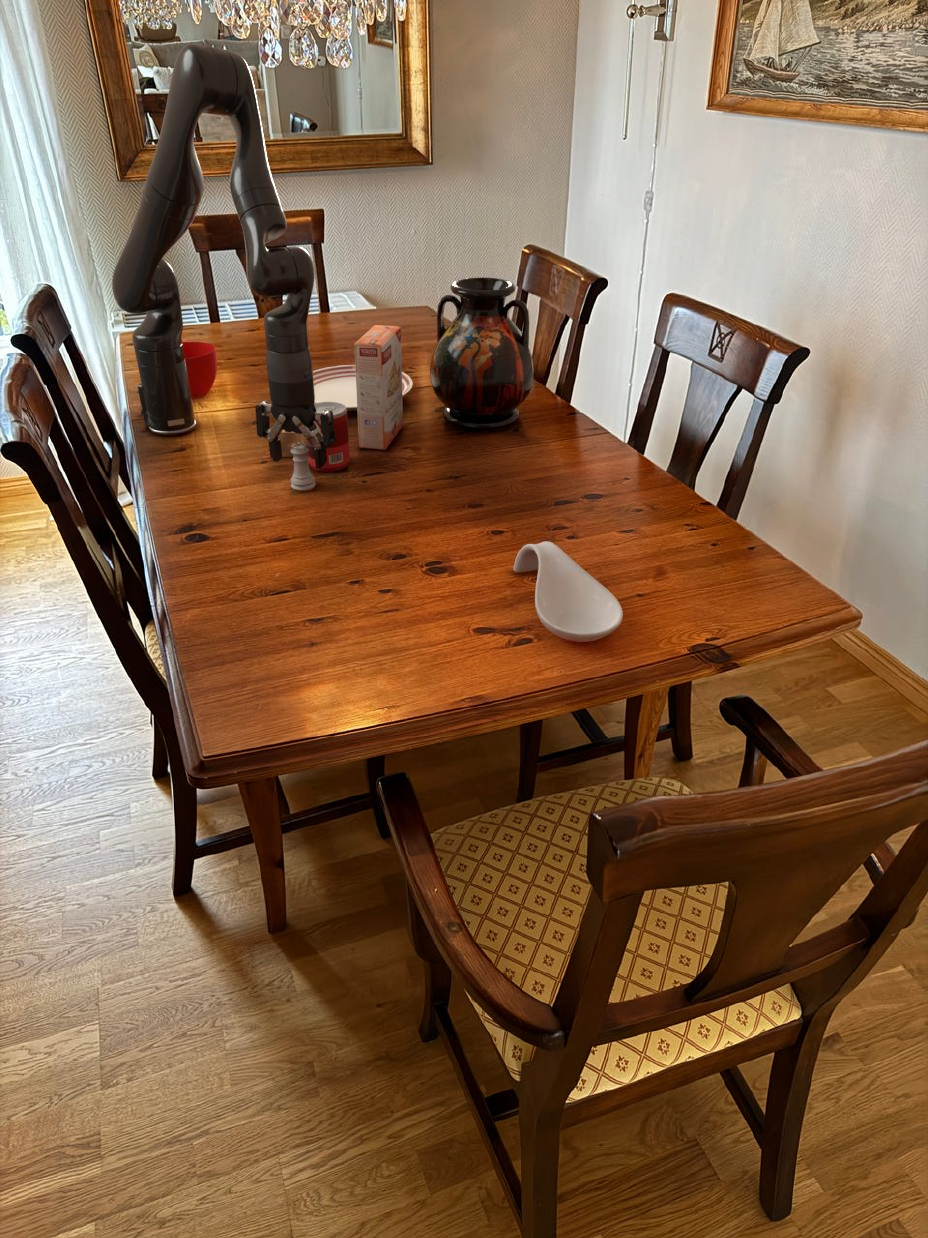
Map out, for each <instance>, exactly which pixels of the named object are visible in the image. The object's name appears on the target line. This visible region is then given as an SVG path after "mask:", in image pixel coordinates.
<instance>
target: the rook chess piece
mask: <svg viewBox="0 0 928 1238" xmlns="http://www.w3.org/2000/svg"><path fill="white" fill-rule="evenodd" d="M308 451H309V449H308V446H307V443H306V442H305V443H302V445H300V443H297V446H296V444H293V446H292V449H291V453H292V454H293V455H294V457H292V461H293V465H294V466H293V472H292V476H291V478H290V483H291V484H290V488H292V489H293V490H294V491H296V492H308V491H311V490H313V489H314V487H315V486H316V482H315V480H316V479H315V476H314V475H313V473H312V472H311V471H310V467H309V456H308Z"/></svg>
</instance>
